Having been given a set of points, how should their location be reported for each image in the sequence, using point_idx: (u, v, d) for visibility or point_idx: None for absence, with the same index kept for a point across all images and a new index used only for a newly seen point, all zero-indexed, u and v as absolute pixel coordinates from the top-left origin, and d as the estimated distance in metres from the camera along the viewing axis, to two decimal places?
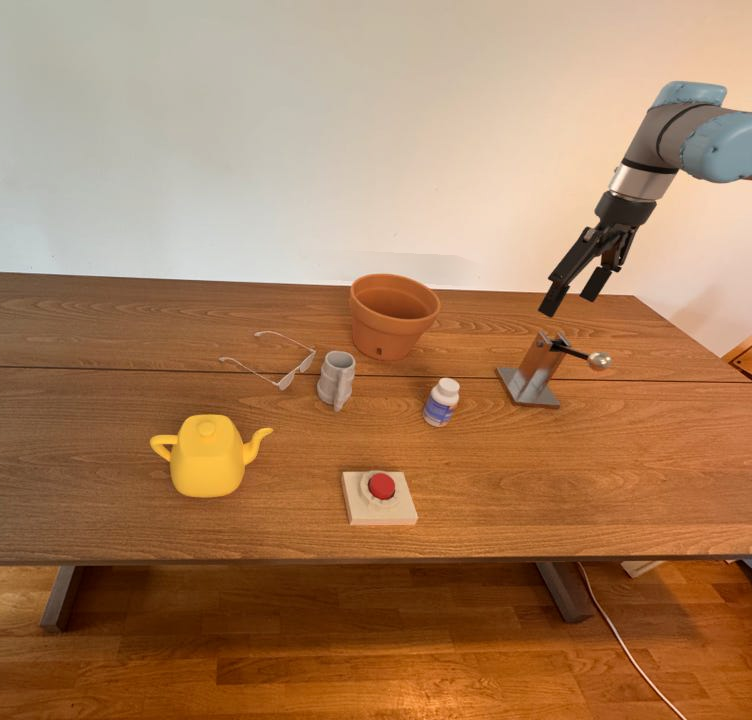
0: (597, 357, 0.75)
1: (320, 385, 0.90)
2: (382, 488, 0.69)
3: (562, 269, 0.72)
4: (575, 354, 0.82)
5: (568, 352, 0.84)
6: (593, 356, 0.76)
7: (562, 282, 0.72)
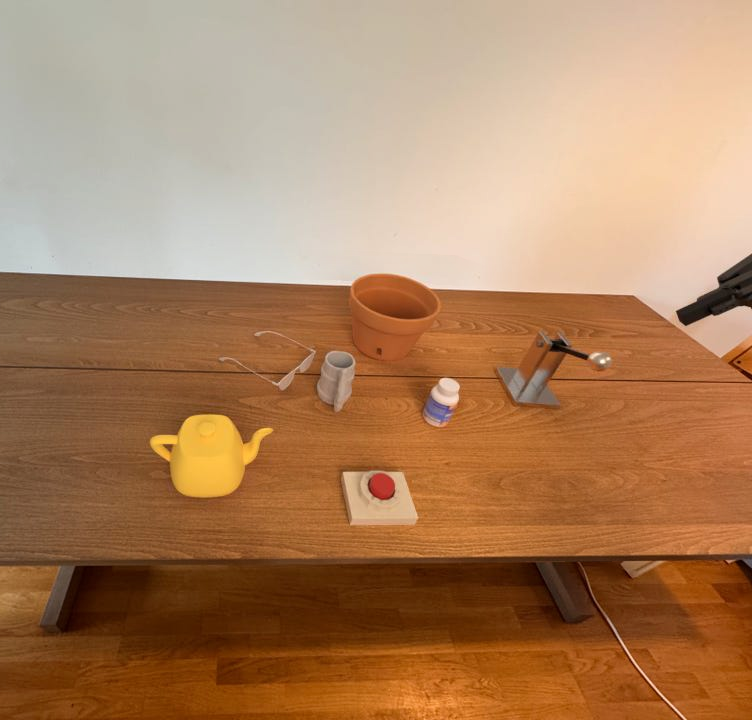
0: (597, 357, 0.75)
1: (320, 385, 0.90)
2: (382, 488, 0.69)
3: None
4: (575, 354, 0.82)
5: (568, 352, 0.84)
6: (593, 356, 0.76)
7: (719, 276, 0.69)
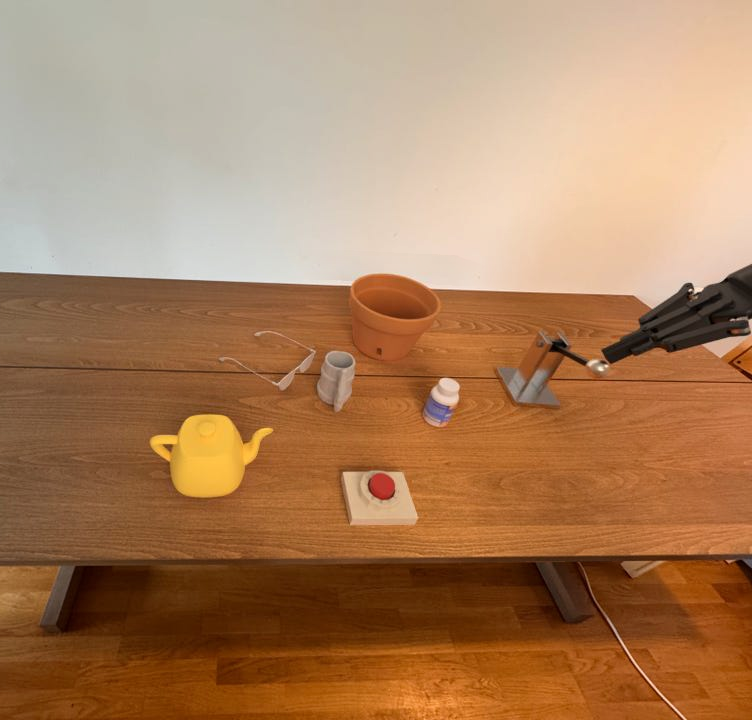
0: (595, 365, 0.76)
1: (320, 385, 0.90)
2: (382, 488, 0.69)
3: None
4: (573, 358, 0.82)
5: (567, 355, 0.84)
6: (591, 364, 0.76)
7: (640, 318, 0.74)
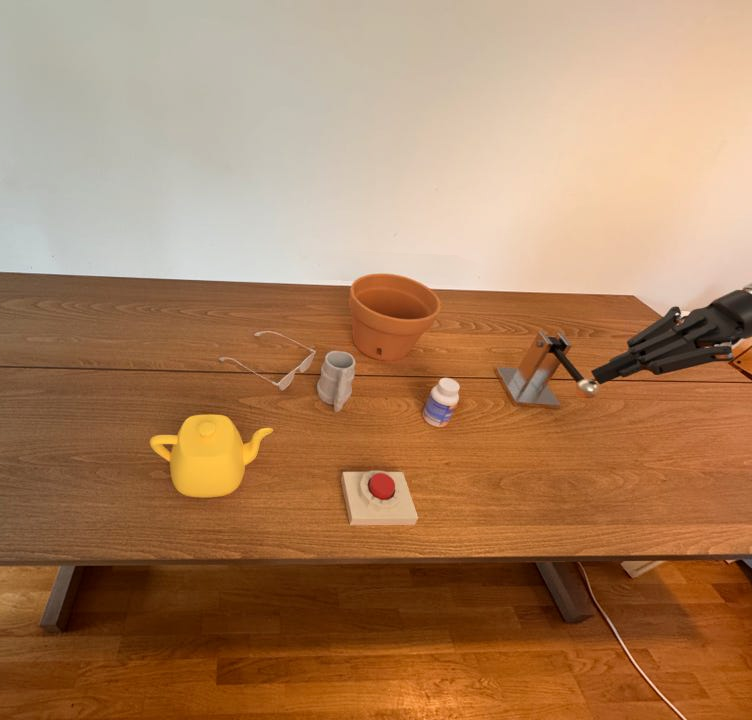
0: (585, 387, 0.78)
1: (320, 385, 0.90)
2: (382, 488, 0.69)
3: None
4: (568, 369, 0.83)
5: (563, 364, 0.85)
6: (582, 385, 0.78)
7: (629, 341, 0.76)
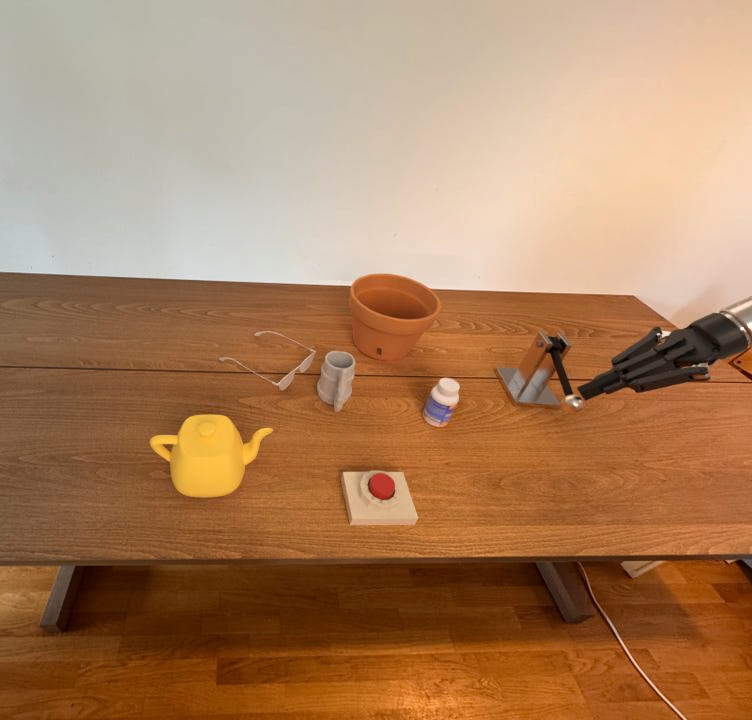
0: (570, 405, 0.81)
1: (320, 385, 0.90)
2: (382, 488, 0.69)
3: None
4: (560, 378, 0.85)
5: (557, 370, 0.86)
6: (567, 402, 0.81)
7: (613, 359, 0.79)
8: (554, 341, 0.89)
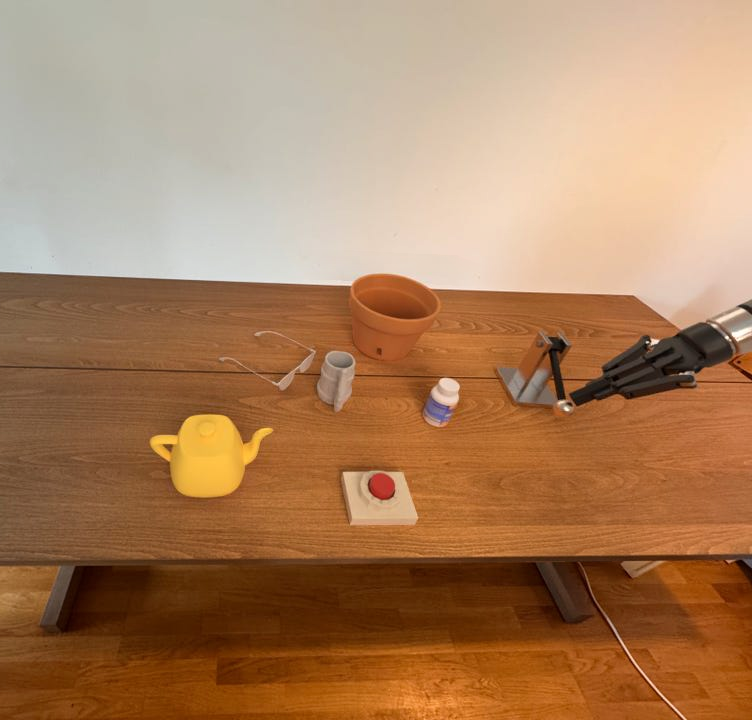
0: (561, 411, 0.83)
1: (320, 385, 0.90)
2: (382, 488, 0.69)
3: None
4: (555, 381, 0.87)
5: (553, 373, 0.88)
6: (559, 408, 0.84)
7: (603, 366, 0.81)
8: (554, 342, 0.89)
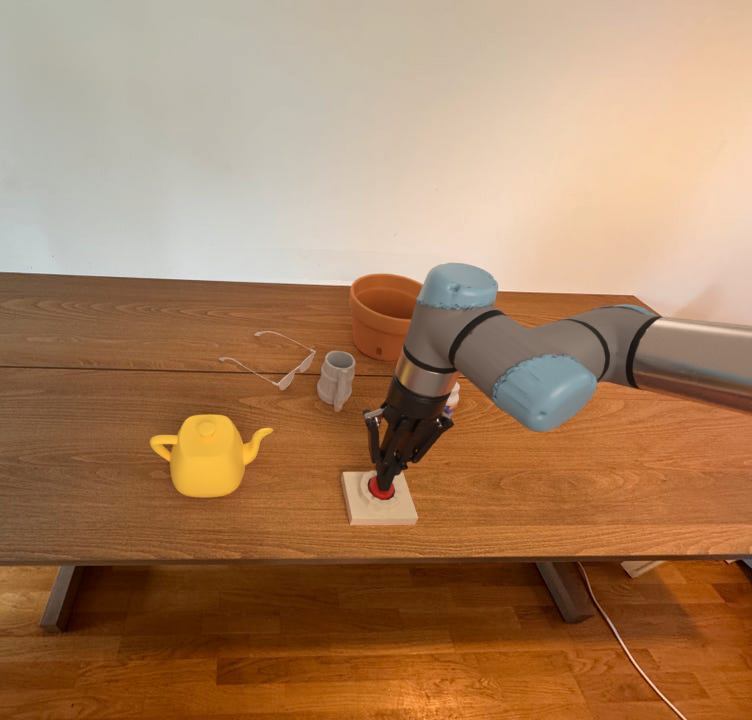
0: None
1: (320, 385, 0.90)
2: None
3: (369, 447, 0.64)
4: None
5: None
6: None
7: (373, 461, 0.64)
8: None
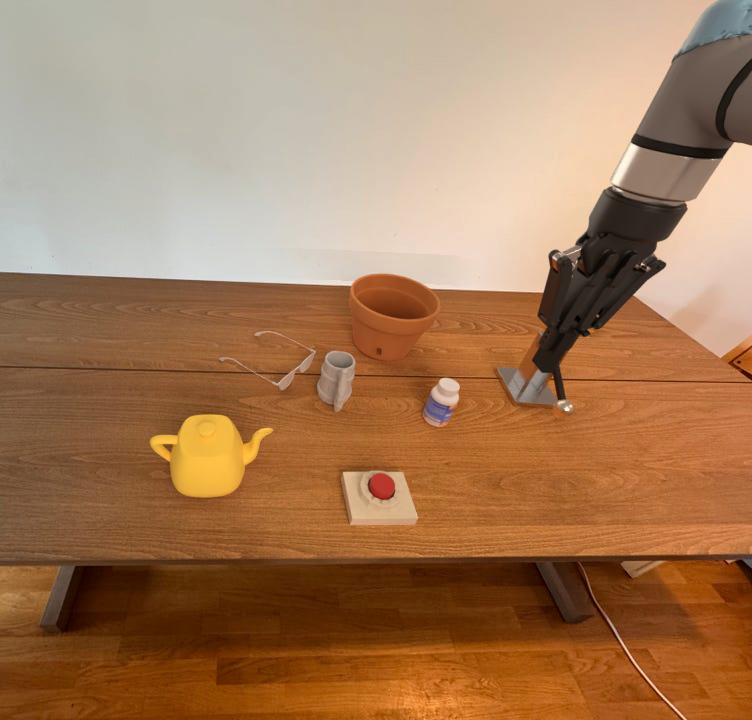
0: (561, 411, 0.83)
1: (320, 385, 0.90)
2: (382, 488, 0.69)
3: (545, 308, 0.52)
4: (555, 381, 0.87)
5: (553, 373, 0.88)
6: (559, 408, 0.84)
7: (549, 325, 0.52)
8: None
